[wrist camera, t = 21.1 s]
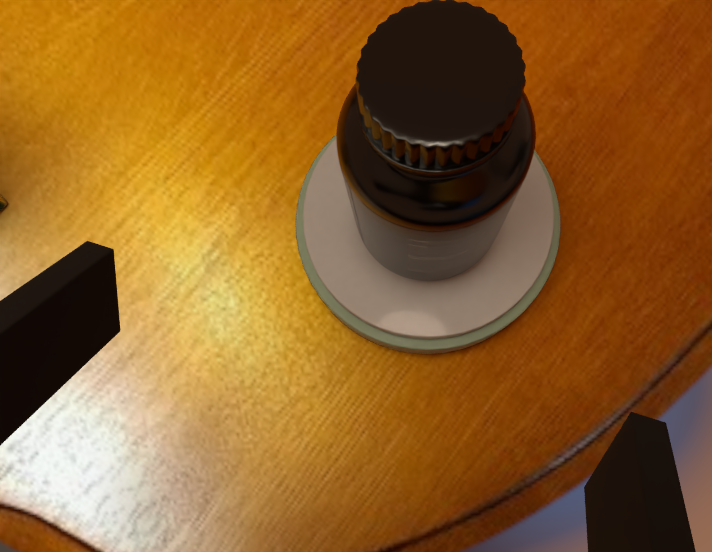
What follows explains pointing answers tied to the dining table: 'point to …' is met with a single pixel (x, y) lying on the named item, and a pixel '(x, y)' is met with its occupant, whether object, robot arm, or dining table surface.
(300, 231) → the scale
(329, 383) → the dining table surface
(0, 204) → the crayon box
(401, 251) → the supplement bottle
